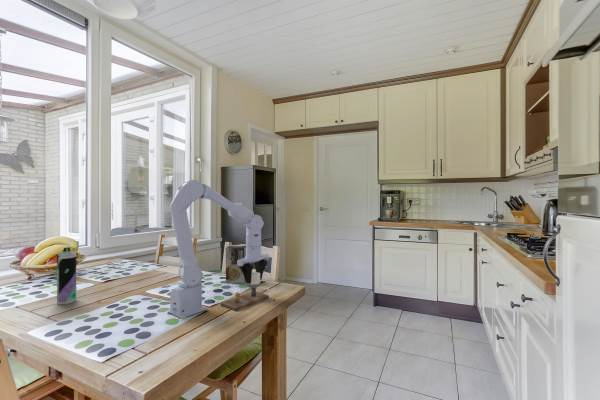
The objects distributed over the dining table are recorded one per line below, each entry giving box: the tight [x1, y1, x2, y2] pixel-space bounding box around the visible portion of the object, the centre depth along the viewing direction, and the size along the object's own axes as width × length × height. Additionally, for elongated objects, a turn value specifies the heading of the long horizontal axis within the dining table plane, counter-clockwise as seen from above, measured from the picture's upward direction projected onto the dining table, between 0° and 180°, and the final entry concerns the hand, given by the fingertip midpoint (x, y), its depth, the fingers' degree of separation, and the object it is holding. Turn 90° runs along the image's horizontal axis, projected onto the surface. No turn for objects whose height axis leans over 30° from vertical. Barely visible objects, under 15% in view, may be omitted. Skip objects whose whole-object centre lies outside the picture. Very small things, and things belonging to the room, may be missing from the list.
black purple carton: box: [56, 247, 77, 305], centre depth 102 cm, size 6×6×20 cm
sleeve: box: [246, 271, 261, 289], centre depth 106 cm, size 5×5×4 cm
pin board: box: [220, 288, 270, 312], centre depth 102 cm, size 16×8×4 cm, turn 143°
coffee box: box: [225, 245, 247, 284], centre depth 128 cm, size 9×6×16 cm
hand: (253, 281), depth 106 cm, fingers closed on sleeve, 5 cm apart
